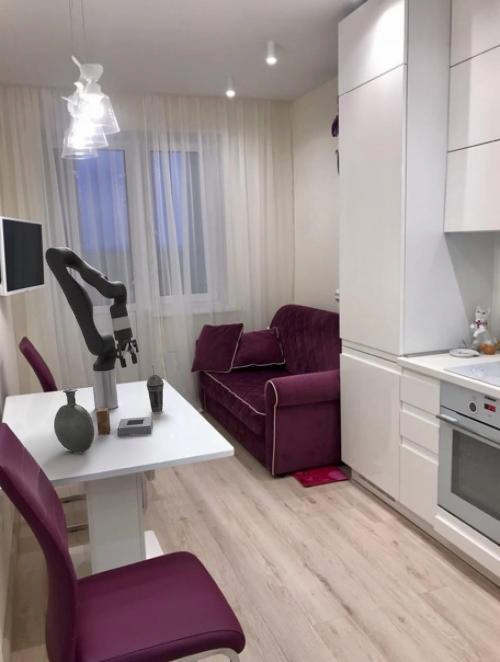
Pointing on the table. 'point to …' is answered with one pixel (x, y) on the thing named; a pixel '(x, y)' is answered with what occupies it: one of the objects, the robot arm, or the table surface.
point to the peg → (103, 421)
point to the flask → (74, 425)
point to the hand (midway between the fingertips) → (129, 365)
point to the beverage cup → (155, 392)
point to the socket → (135, 426)
